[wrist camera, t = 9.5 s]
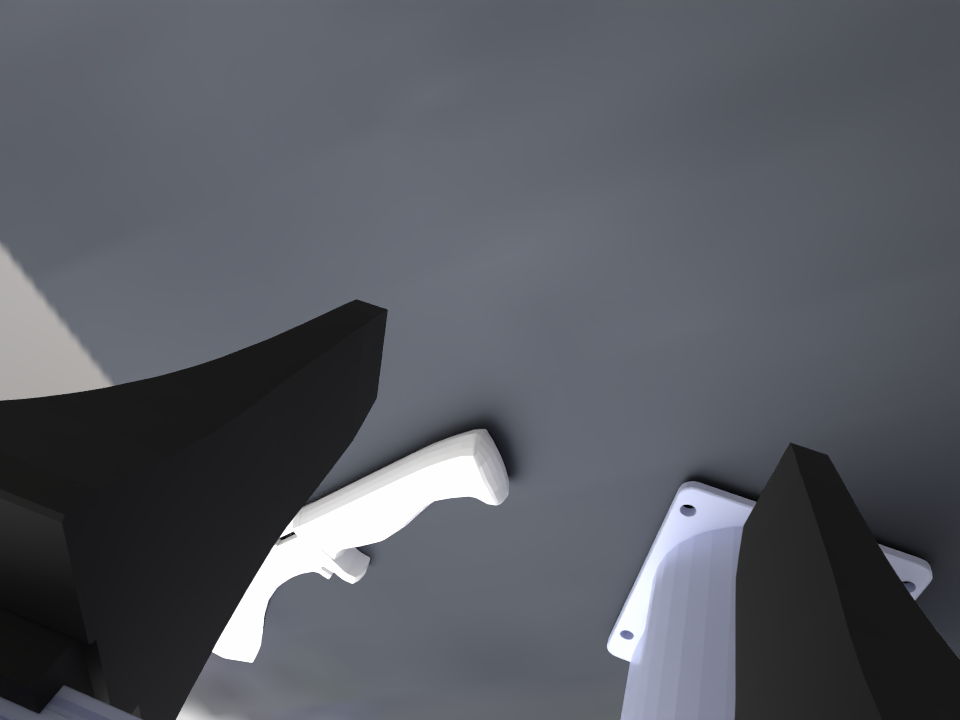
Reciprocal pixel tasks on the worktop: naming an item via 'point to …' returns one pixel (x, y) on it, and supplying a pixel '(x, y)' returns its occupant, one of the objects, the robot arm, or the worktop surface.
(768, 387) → the worktop surface
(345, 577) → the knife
